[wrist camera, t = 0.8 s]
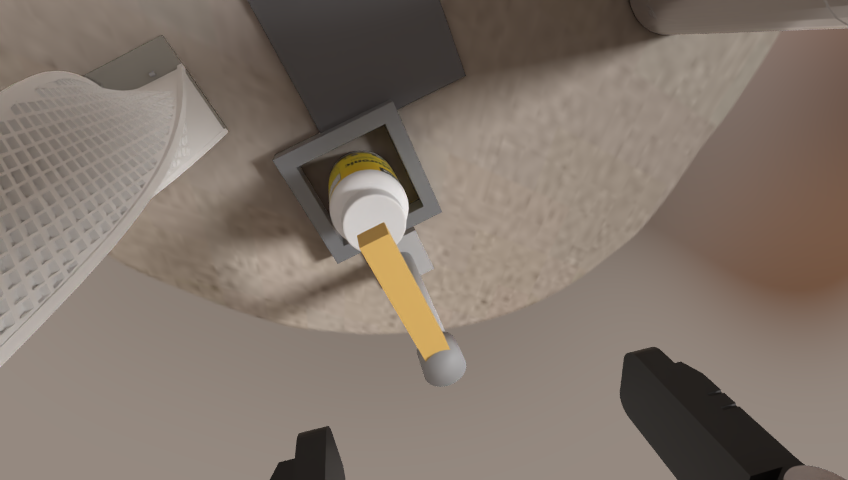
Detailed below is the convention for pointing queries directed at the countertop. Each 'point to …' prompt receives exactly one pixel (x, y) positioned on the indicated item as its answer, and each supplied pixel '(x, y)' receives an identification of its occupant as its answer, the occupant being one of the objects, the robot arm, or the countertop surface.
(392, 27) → the mat
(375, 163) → the supplement bottle
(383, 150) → the countertop surface
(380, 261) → the yellow lever
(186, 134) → the skyscraper
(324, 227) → the socket
